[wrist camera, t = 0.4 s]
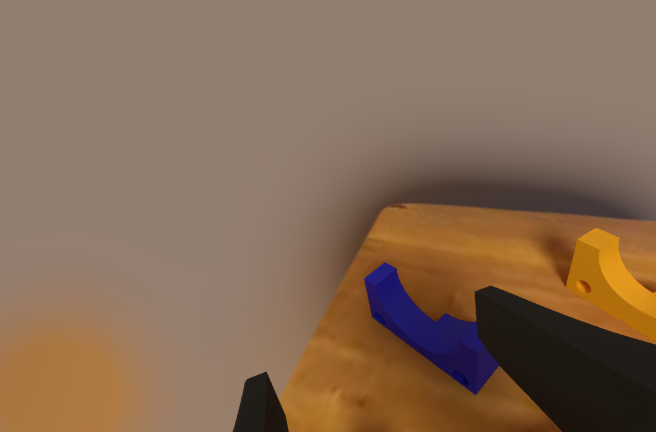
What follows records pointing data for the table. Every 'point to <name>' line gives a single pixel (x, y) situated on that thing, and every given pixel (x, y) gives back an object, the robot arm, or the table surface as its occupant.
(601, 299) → the pipe clamp
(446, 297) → the table surface
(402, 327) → the blue cradle block
